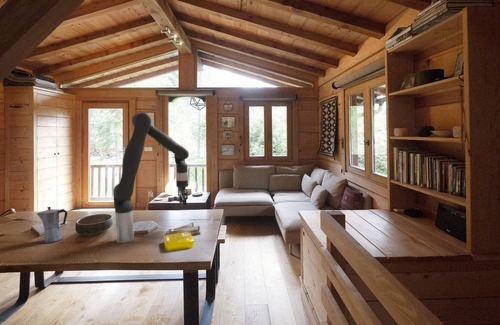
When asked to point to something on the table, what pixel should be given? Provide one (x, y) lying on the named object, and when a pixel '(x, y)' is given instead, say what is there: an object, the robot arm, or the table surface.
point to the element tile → (178, 241)
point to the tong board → (189, 232)
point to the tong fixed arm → (184, 230)
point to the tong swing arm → (185, 226)
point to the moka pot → (52, 224)
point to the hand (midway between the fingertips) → (182, 204)
